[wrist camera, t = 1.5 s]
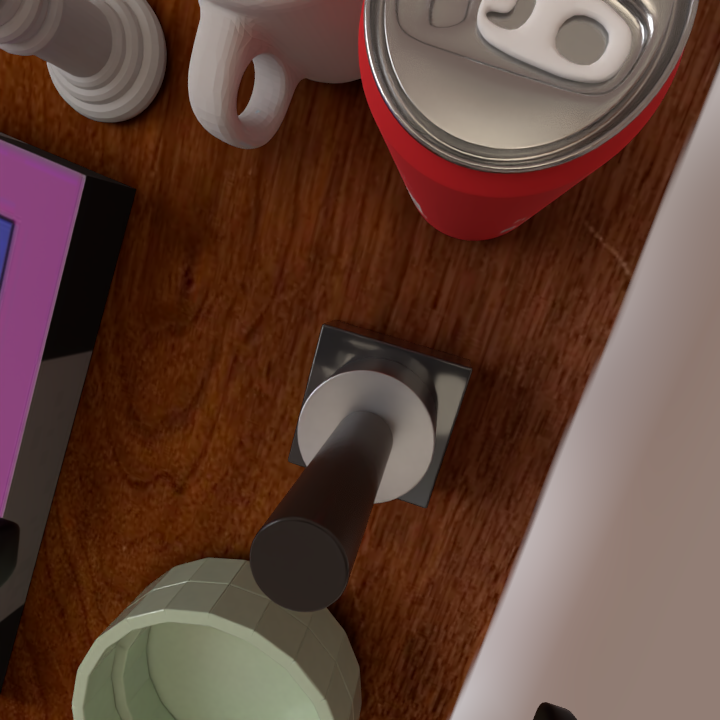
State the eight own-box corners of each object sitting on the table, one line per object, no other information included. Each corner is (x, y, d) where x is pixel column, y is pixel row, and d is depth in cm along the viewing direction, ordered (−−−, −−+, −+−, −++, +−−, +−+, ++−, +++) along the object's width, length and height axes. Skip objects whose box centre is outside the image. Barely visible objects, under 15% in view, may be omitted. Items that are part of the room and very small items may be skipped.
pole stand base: (470, 359, 20) (473, 368, 18) (428, 488, 21) (426, 509, 19) (334, 319, 21) (322, 323, 19) (301, 445, 22) (286, 462, 20)
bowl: (394, 601, 22) (380, 680, 18) (329, 798, 25) (303, 908, 21) (158, 514, 24) (93, 568, 19) (120, 708, 26) (55, 793, 22)
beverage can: (453, 76, 18) (463, -281, 7) (575, 142, 18) (815, -111, 6) (385, 202, 19) (289, 90, 8) (498, 266, 19) (575, 251, 7)
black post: (452, 378, 18) (457, 497, 8) (416, 491, 19) (383, 713, 9) (332, 342, 19) (207, 413, 9) (303, 453, 20) (163, 625, 10)
